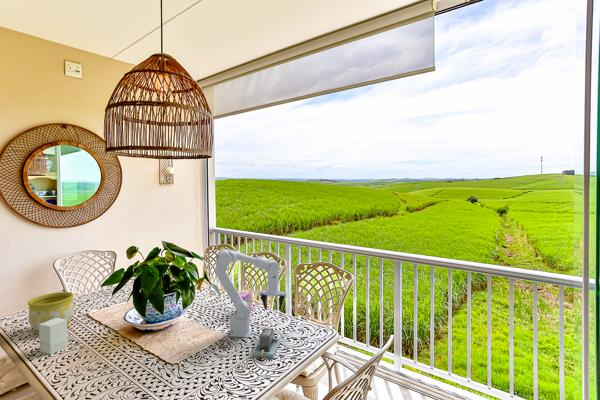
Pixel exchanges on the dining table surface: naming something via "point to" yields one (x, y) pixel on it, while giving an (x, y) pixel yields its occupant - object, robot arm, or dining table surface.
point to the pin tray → (263, 354)
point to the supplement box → (53, 335)
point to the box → (246, 297)
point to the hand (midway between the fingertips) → (272, 309)
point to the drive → (266, 340)
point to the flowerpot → (50, 308)
